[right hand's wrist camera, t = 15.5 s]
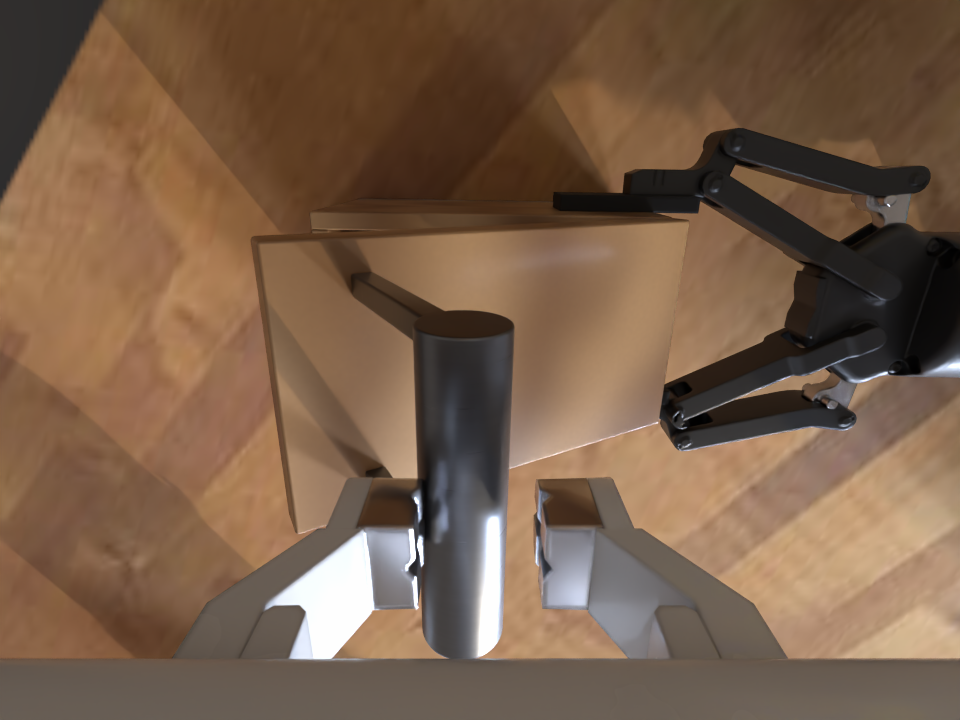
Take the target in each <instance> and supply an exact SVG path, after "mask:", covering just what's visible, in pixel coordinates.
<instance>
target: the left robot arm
mask: <svg viewBox="0 0 960 720" xmlns="http://www.w3.org/2000/svg"><path fill="white" fill-rule="evenodd" d="M735 165H738V166H742V167H745V168H749V169H752V170H755V171H759V172H762V173H766V174H769V175H773V176H776V177H780V178H783V179H787V180H790V181H793V182H797V183H800V184H804V185H807V186H811V187H814V188H818V189H821V190H824V191H828V192H833V193H841V194H853V195H852V197H851V201H852V202H853V203H854V204H855V206H856V207H857V209H859V210H863V211H867V212H869V213H870V214H871V216H872V223H870V224H868V225H866V226H864V227H863V228H861V229H859V230H858V231H856V232H854V233H853V234H851V235H850V236H848V237H846V238H845V239H843V240H841V241H840V242H838V241H836V240H834V239H831V238H829V237H827V236H825V235H823V234H822V233H820V232H819V231H817V230H815V229H814V228H812V227H811V226H809V225H807V224H806V223H804V222H803V221H801V220H799V219H798V218H796V217H795V216H793V215H791V214H790V213H788V212H787V211H785V210H784V209H782V208H780V207H779V206H777V205H776V204H774V203H772V202H771V201H769V200H768V199H766V198H764V197H763V196H761V195H760V194H758V193H756V192H755V191H753V190H752V189H750V188H748V187H747V186H745V185H744V184H742V183H740V182H739V181H737V180H736V179H734V178H732V177H731V176H730V174H731V172H732V170H733V168H734V166H735ZM929 181H930V171H929V169H928V168H926V167H925V166H877V167H872V166H869V165H865V164H862V163H858V162H855V161H852V160H848V159H845V158H842V157H838V156H835V155H831V154H828V153H825V152H821V151H818V150H815V149H811V148H808V147H804V146H801V145H798V144H794V143H791V142H788V141H784V140H781V139H778V138H774V137H771V136H767V135H764V134H761V133H757V132H754V131H751V130H747V129H744V128H735V129H729V130H723V131H716V132H713V133H711V134H709V135H708V136H707V137H706V139H705V140H704V144H703V152H702V154H701V156H700V158H699V160H698V161H697V163H696V164H695V165H694V166H692V167H691V168H689V169H686V170H659V169H635V170H632V171H629V172H627V173H625V175H624V184H623V193H582V192H554V195H553V207H554V208H555V209H557V210H559V211H589V212H650V213H698V211H699V204H700V201H701V202H703V203H705V204H706V205H708V206H710V207H711V208H713V209H714V210H716V211H718V212H719V213H721V214H723V215H724V216H726V217H728V218H729V219H731V220H732V221H734V222H736V223H737V224H739V225H741V226H742V227H744V228H746V229H747V230H749V231H750V232H752V233H754V234H755V235H757V236H759V237H760V238H762V239H764V240H765V241H767V242H769V243H770V244H772V245H773V246H775V247H777V248H778V249H780V250H782V251H783V253H784V254H786V255H787V256H789V257H790V258H792V259H794V260H795V261H797V262H799V263H800V264H802V265H803V266H805V267H804V268H803V270H802V271H797V273H796V278H795V282H794V301H793V303H792V305H791V307H790V309H789V311H788V313H787V317H786V321H785V325H784V327H785V328H783V329H781V330H778V331H776V332H774V333H772V334H769V335H767V336H766V337H765V338H764V341H763V342H761V343H759V344H757V345H755V346H752V347H750V348H748V349H745V350H743V351H741V352H738V353H736V354H734V355H731V356H729V357H727V358H725V359H722V360H720V361H718V362H715V363H713V364H711V365H708V366H706V367H704V368H701V369H699V370H697V371H694V372H692V373H690V374H687V375H685V376H683V377H681V378H678V379H676V380H674V381H671V382H669V383H667V384H664V389H663V396H662V402H661V409H660V415H659V419H661V422H660V424H661V427H662V429H663V430H664V431H665V433H666V434H667V436H668V437H669V439H670V440H671V442H672V443H673V445H674V446H675V447H676V448H677V449H678V450H680V451H689V450H694V449H699V448H704V447H710V446H715V445H720V444H725V443H730V442H736V441H741V440H746V439H751V438H757V437H762V436H767V435H772V434H778V433H783V432H788V431H793V430H799V429H804V428H809V427H816V428H825V429H833V430H847V429H850V428H851V427H852V426H853V425H854V424H855V422H856V419H857V418H856V415H855V414H854V413H853V412H852V411H851V410H849V409H848V408H847V407H848V405H849V403H850V400H851V398H852V395H853V393H854V390H855V388H856V386H857V383H863V382H866V381H869V380H871V379H873V378H876V377H879V376H883V375H894V376H907V377H960V232H920V231H918V230H916V229H915V228H913V227H912V226H910V225H908V224H906V219H907V214H908V208H909V203H910V198H911V194H912V193H917V192H920V191H922V190H923V189H924V188H925V187H926V186H927V185H928V183H929ZM824 368H825V369H826V370H827V371H829V372H830V375H829V377H828V378H827V379H826V380H825V381H823V382H821V383H815V384H812V385H811V384H809V383H807V384H805V385H803V387H802V390H785V391H779V392H774V393H768V394H763V395H758V396H753V397H748V398H743V399H738V400H735V399H737V398H740V397H742V396H745V395H747V394H749V393H752V392H754V391H757V390H759V389H761V388H764V387H766V386H769V385H771V384H773V383H776V382H778V381H781V380H783V379H785V378H788V377H790V376H806V375H809V374H812V373H814V372H816V371H819V370H821V369H824Z"/></svg>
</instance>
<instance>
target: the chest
mask: <svg viewBox="0 0 960 720" xmlns="http://www.w3.org/2000/svg"><path fill="white" fill-rule="evenodd" d="M648 218H672V217H669V216H665V215H661V214H657V213H650V212H589V211H559V210H557V209H555V208H554V207H553V201H491V200H429V199H368V198H360V199H357V200H354V201H350V202H346V203H342V204H338V205H334V206H330V207H326V208H322V209H318V210H314V211H310V222H311V229H313V230H312V233H335V232H357V231H379V230H402V229H424V228H447V227H469V226H491V225H514V224H536V223H558V222H581V221H603V220H625V219H648Z"/></svg>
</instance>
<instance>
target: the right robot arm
mask: <svg viewBox="0 0 960 720" xmlns="http://www.w3.org/2000/svg"><path fill="white" fill-rule="evenodd" d="M424 502H425V495H424V479H422V478H373V477H352V478H349V479H347V480H346V482H345V484H344V487H343V489H342V491H341V494H340V496H339V498H338V501H337V503H336V505H335V508H334V510H333V512H332V515H331V517H330V519H329V522H328V524H327V526H326V529H317V530H315V531H314V532H312V533H311V534H309V535H308V536H306V537H305V538H303V539H302V540H300V541H299V542H297V543H296V544H294V545H293V546H291V547H290V548H288V549H287V550H285V551H284V552H282V553H281V554H279V555H278V556H276V557H275V558H273V559H272V560H270V561H269V562H267V563H266V564H264V565H263V566H261V567H260V568H259V569H257V570H256V571H254V572H253V573H251V574H250V575H248V576H247V577H245V578H244V579H242V580H241V581H239V582H238V583H236V584H235V585H233V586H232V587H230V588H229V589H227V590H226V591H224V592H223V593H221V594H220V595H218V596H217V597H215V598H214V599H212V600H211V601H209V602H208V603H207V604H206V605H205V607H204V608H203V610H202V612H201V613H200V615H199V616H198V618H197V619H196V621H195V623H194V624H193V626H192V627H191V629H190V631H189V632H188V634H187V635H186V637H185V638H184V640H183V642H182V643H181V645H180V646H179V648H178V650H177V651H176V653H175V654H174V656H173V657H172V659H0V720H960V659H788V658H787V656H786V654H785V653H784V651H783V650H782V648H781V646H780V645H779V643H778V642H777V640H776V638H775V637H774V635H773V634H772V632H771V630H770V629H769V627H768V626H767V624H766V622H765V621H764V619H763V618H762V616H761V614H760V613H759V611H758V610H757V608H756V606H755V605H754V604H753V603H752V602H750V601H749V600H747V599H746V598H744V597H743V596H741V595H740V594H738V593H737V592H735V591H734V590H733V589H731V588H730V587H728V586H727V585H725V584H724V583H722V582H721V581H719V580H718V579H716V578H715V577H713V576H712V575H710V574H709V573H707V572H706V571H704V570H703V569H701V568H700V567H698V566H697V565H695V564H694V563H692V562H691V561H689V560H688V559H686V558H685V557H683V556H682V555H680V554H679V553H677V552H676V551H674V550H673V549H671V548H670V547H668V546H667V545H665V544H664V543H662V542H661V541H659V540H658V539H656V538H655V537H653V536H652V535H650V534H649V533H648V532H646V531H645V530H643V529H634V527H633V524H632V522H631V520H630V517H629V515H628V513H627V510H626V508H625V506H624V504H623V501H622V499H621V497H620V494H619V492H618V490H617V487H616V485H615V483H614V481H613V479H612V478H610V477H597V478H574V479H536V484H535V502H536V509H537V512H536V513H535V515H534V529H533V530H534V552H535V561H536V564H537V565H538V566H539V576H538V582H539V589H540V595H541V602H542V609H572V610H588V613H589V614H590V615H591V616H592V617H593V618H594V619H595V621H596V622H597V623H598V624H599V625H600V626H601V627H602V629H603V630H604V631H605V632H606V633H607V634H608V635H609V637H610V638H611V639H612V640H613V641H614V642H615V643H616V645H617V646H618V647H619V648H620V649H621V650H622V651H623V653H624V654H625V655H626V656H627V657H628V658H629V659H332V657H333V656H334V655H335V654H336V653H337V652H338V651H339V649H340V648H341V647H342V646H343V645H344V644H345V643H346V641H347V640H348V639H349V638H350V637H351V636H352V635H353V633H354V632H355V631H356V630H357V629H358V628H359V627H360V625H361V624H362V623H363V622H364V621H365V620H366V619H367V617H368V616H369V615H370V614H371V613H372V611H371V610H387V609H418V602H419V595H420V589H421V582H422V578H421V566H422V565H423V564H424V560H425V552H426V519H425V517H424V514H423V508H424Z"/></svg>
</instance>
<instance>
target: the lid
mask: <svg viewBox="0 0 960 720" xmlns="http://www.w3.org/2000/svg"><path fill="white" fill-rule="evenodd" d="M688 227H689V221H688V220H684V219H675V218H648V219H625V220H603V221H581V222H558V223H536V224H514V225H491V226H469V227H447V228H424V229H402V230H379V231H357V232H335V233H312V234H290V235H268V236H253V237H251V246H252V253H253V260H254V267H255V274H256V281H257V288H258V296H259V303H260V310H261V317H262V324H263V331H264V338H265V346H266V353H267V360H268V367H269V374H270V381H271V388H272V395H273V403H274V410H275V417H276V424H277V431H278V438H279V445H280V452H281V460H282V467H283V474H284V481H285V488H286V495H287V502H288V510H289V515H290V518H291V521H292V524H293V527H294V530H295V532H296V533H297V534H300V533H304V532H307V531H310V530H313V529H317V528H320V527H323V526H326V525H327V524H328V522H329V519H330V517H331V515H332V512H333V510H334V508H335V505H336V503H337V501H338V498H339V496H340V494H341V491H342V489H343V487H344V484H345V482H346V480H347V479H349V478H352V477H373V478H422V479H424V495H425V502H424V508H423V514H424V517H425V519H426V552H425V560H424V564H423V565H422V566H421V578H422V582H421V600H422V628H423V634H424V637H425V640H426V641H427V643H428V644H429V646H430V647H431V648H432V649H433V650H434V651H435V652H436V653H438V654H440V655H441V656H443V657H446V658H449V659H475V658H478V657H480V656H483V655H484V654H486V653H487V652H489V651H490V650H491V649H492V648H493V647H494V646H495V645H496V643H497V642H498V640H499V638H500V636H501V633H502V628H503V603H504V578H505V554H506V529H507V505H508V480H509V469H511V468H514V467H517V466H520V465H524V464H527V463H530V462H533V461H537V460H540V459H543V458H546V457H549V456H553V455H556V454H559V453H562V452H566V451H569V450H572V449H575V448H579V447H582V446H585V445H588V444H592V443H595V442H598V441H601V440H604V439H608V438H611V437H614V436H617V435H621V434H624V433H627V432H630V431H634V430H637V429H640V428H643V427H647V426H650V425H653V424H656V423H658V422H659V415H660V409H661V402H662V396H663V389H664V383H665V376H666V370H667V363H668V357H669V350H670V344H671V338H672V331H673V325H674V318H675V312H676V305H677V299H678V292H679V286H680V279H681V273H682V266H683V260H684V253H685V247H686V240H687V234H688Z"/></svg>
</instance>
